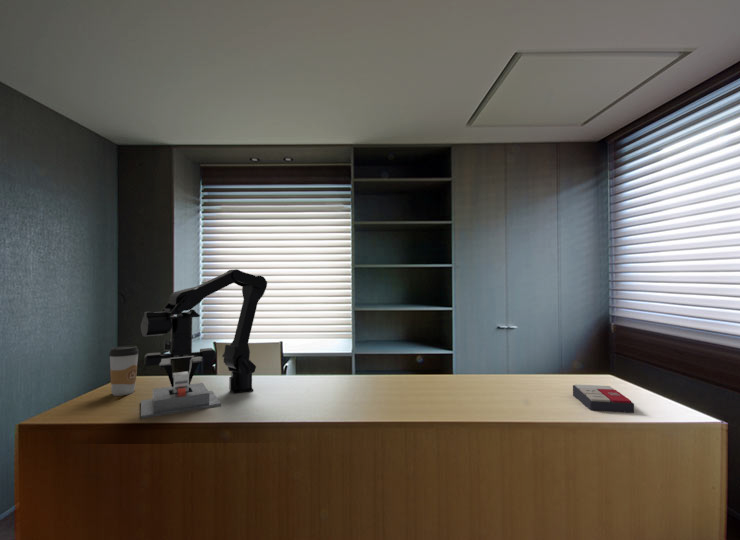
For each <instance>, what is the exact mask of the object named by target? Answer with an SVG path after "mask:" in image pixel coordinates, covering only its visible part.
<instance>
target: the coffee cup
mask: <svg viewBox="0 0 740 540" xmlns="http://www.w3.org/2000/svg"><path fill="white" fill-rule="evenodd" d="M139 351H140V350H139V349H138V346H136V345H123V346H115V347H111V348H110V351H109V353H108V354H109V355H108V356H109V367H110V369H109V371H110V377H109V378H110V385H111V388H110V389H111V394H112V396H117V397H118V396H127V395H131V394H133V393H134V391H135V390H136V382H137V373H138V360H139V353H140V352H139Z"/></svg>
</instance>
